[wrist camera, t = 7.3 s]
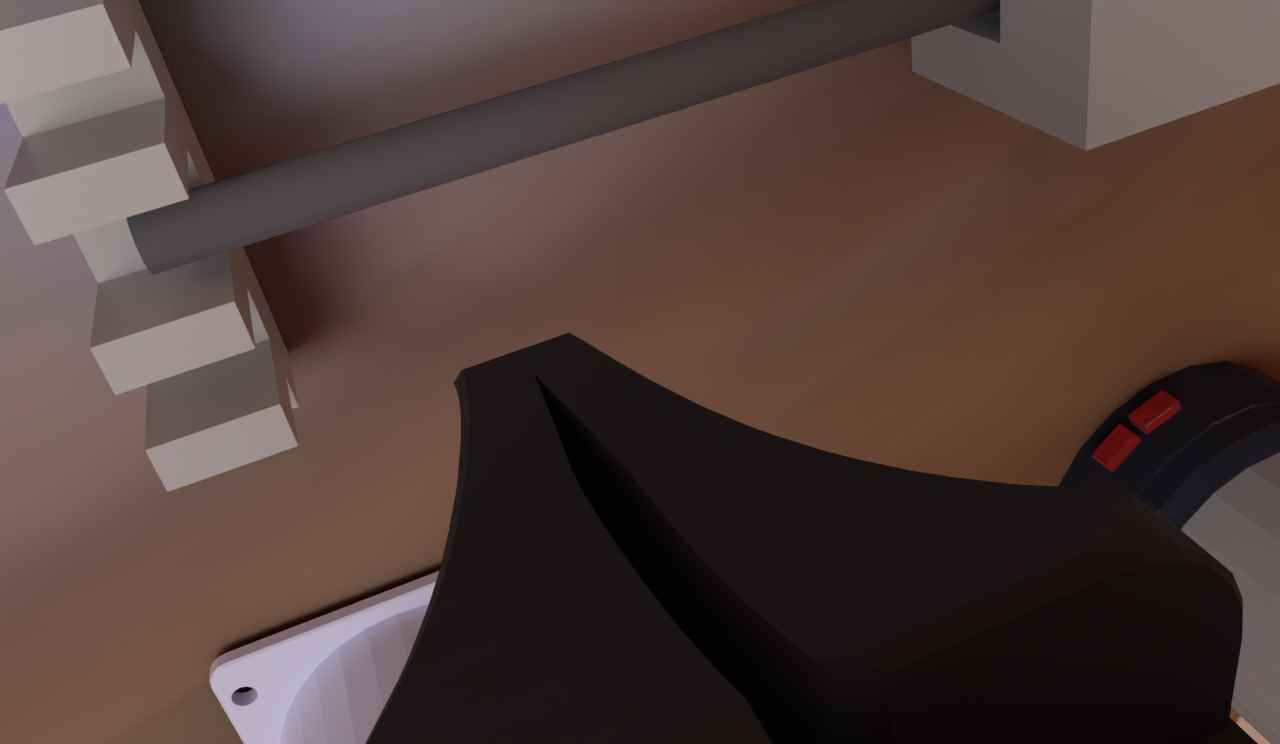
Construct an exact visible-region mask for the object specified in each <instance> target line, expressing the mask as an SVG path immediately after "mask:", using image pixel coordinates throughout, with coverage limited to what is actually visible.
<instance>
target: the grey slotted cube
mask: <svg viewBox="0 0 1280 744" xmlns="http://www.w3.org/2000/svg"><path fill="white" fill-rule="evenodd" d="M911 49H912V70H913V72H914V73H916V74H919V75H921V76H923V77H925V78H927V79H930V80H932V81H934V82H936V83H938V84H941V85H943V86H945V87H947V88H949V89H951V90H954V91H956V92H958V93H960V94H962V95H965V96H967V97H969V98H971V99H973V100H976V101H978V102H980V103H982V104H984V105H986V106H989V107H991V108H993V109H995V110H997V111H1000V112H1002V113H1004V114H1006V115H1008V116H1011V117H1013V118H1015V119H1017V120H1019V121H1021V122H1024V123H1026V124H1028V125H1030V126H1032V127H1035V128H1037V129H1039V130H1041V131H1043V132H1045V133H1048V134H1050V135H1052V136H1054V137H1056V138H1059V139H1061V140H1063V141H1065V142H1067V143H1070V144H1072V145H1074V146H1076V147H1078V148H1080V149H1083V150H1085V151H1087V150H1090V149H1093V148H1096V147H1099V146H1102V145H1105V144H1107V143H1110V142H1113V141H1116V140H1119V139H1122V138H1125V137H1127V136H1130V135H1133V134H1136V133H1139V132H1142V131H1145V130H1148V129H1150V128H1153V127H1156V126H1159V125H1162V124H1165V123H1168V122H1170V121H1173V120H1176V119H1179V118H1182V117H1185V116H1188V115H1191V114H1193V113H1196V112H1199V111H1202V110H1205V109H1208V108H1211V107H1213V106H1216V105H1219V104H1222V103H1225V102H1228V101H1231V100H1234V99H1236V98H1239V97H1242V96H1245V95H1248V94H1251V93H1254V92H1256V91H1259V90H1262V89H1265V88H1268V87H1271V86H1274V85H1277V84H1279V83H1280V0H1000V9H999V10H996V11H993V12H990V13H987V14H983V15H980V16H977V17H974V18H971V19H967V20H964V21H961V22H958V23H955V24H952V25H948V26H945V27H942V28H939V29H936V30H932V31H929V32H926V33H923V34H920V35H916V36H913V37H911Z"/></svg>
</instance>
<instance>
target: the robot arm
mask: <svg viewBox="0 0 1280 744" xmlns="http://www.w3.org/2000/svg"><path fill="white" fill-rule="evenodd" d="M454 384H455V387H456V390H457V393H458V396H459V402H460V411H461V446H460V458H459V470H458V481H457V489H456V495H455V500H454V506H453V511H452V517H451V522H450V528H449V533H448V538H447V543H446V547H445V551H444V555H443V559H442V562H441V566H440V570H439V571H437V572H435V573H432V574H430V575H427V576H424V577H422V578H419V579H417V580H414V581H411V582H409V583H406V584H404V585H401V586H398V587H396V588H393V589H391V590H388V591H385V592H383V593H380V594H378V595H375V596H372V597H370V598H367V599H365V600H362V601H359V602H357V603H354V604H352V605H349V606H346V607H344V608H341V609H339V610H336V611H333V612H331V613H328V614H326V615H323V616H320V617H318V618H315V619H313V620H310V621H307V622H305V623H302V624H300V625H297V626H294V627H292V628H289V629H287V630H284V631H281V632H279V633H276V634H274V635H271V636H268V637H266V638H263V639H261V640H258V641H255V642H253V643H250V644H248V645H245V646H242V647H240V648H237V649H235V650H232V651H229V652H227V653H225V654H223V655H221V656H219V657H218V658H217V659H216V660H215V661H214V662H213V663H212V664H211V668H210V671H209V673H210V684H211V688H212V690H213V691H214V693H215V695H216V697H217V698H218V700H219V702H220V703H221V705H222V707H223V709H224V710H225V712H226V714H227V715H228V717H229V719H230V720H231V722H232V724H233V726H234V727H235V729H236V731H237V732H238V734H239V736H240V738H241V739H242V741H243V743H244V744H1258V743H1256V742H1255V741H1254V740H1253V739H1252V738H1251V737H1250V736H1249V735H1248V734H1247V733H1246V732H1245V731H1244V730H1242V729H1241V728H1240V727H1239V726H1238V725H1237V724H1236V723H1235V722H1234V721H1233V720H1232V719H1231V718H1230V717H1229V716H1230V710H1231V704H1232V698H1233V692H1234V686H1235V680H1236V674H1237V668H1238V662H1239V656H1240V650H1241V644H1242V631H1243V598H1242V595H1241V593H1240V590H1239V588H1238V585H1237V583H1236V580H1235V578H1234V575H1233V573H1232V572H1231V571H1229V570H1228V569H1227V568H1226V567H1225V566H1223V565H1222V564H1221V563H1220V562H1219V561H1218V560H1216V559H1215V558H1214V557H1213V556H1212V555H1210V554H1209V553H1208V552H1207V551H1206V550H1204V549H1203V548H1202V547H1201V546H1200V545H1198V544H1197V543H1196V542H1195V541H1194V540H1192V539H1191V538H1190V537H1189V536H1187V535H1186V534H1185V533H1184V532H1183V531H1181V530H1180V529H1179V528H1178V527H1177V526H1175V525H1174V524H1173V523H1172V522H1171V521H1169V520H1168V519H1166V518H1165V517H1164V516H1162V515H1161V514H1159V513H1158V512H1157V511H1155V510H1154V509H1153V508H1151V507H1150V506H1148V505H1147V504H1146V503H1144V502H1143V501H1141V500H1140V499H1138V498H1137V497H1135V496H1134V495H1132V494H1131V493H1129V492H1128V491H1127V490H1122V489H1100V488H1078V487H1055V486H1033V485H1016V484H1005V483H997V482H989V481H980V480H972V479H963V478H955V477H947V476H941V475H935V474H929V473H922V472H916V471H910V470H905V469H900V468H896V467H891V466H886V465H882V464H877V463H872V462H868V461H863V460H858V459H853V458H850V457H846V456H842V455H838V454H834V453H830V452H826V451H823V450H819V449H816V448H813V447H810V446H807V445H803V444H800V443H797V442H794V441H791V440H788V439H784V438H781V437H778V436H775V435H772V434H769V433H766V432H764V431H761V430H758V429H755V428H753V427H750V426H747V425H745V424H742V423H740V422H738V421H735V420H733V419H731V418H728V417H726V416H723V415H721V414H719V413H716V412H714V411H712V410H709V409H707V408H705V407H703V406H700V405H698V404H696V403H694V402H692V401H690V400H688V399H686V398H684V397H682V396H680V395H678V394H677V393H675V392H673V391H671V390H669V389H667V388H665V387H663V386H661V385H659V384H657V383H655V382H653V381H652V380H650V379H648V378H646V377H644V376H642V375H641V374H639V373H637V372H635V371H634V370H632V369H630V368H628V367H627V366H625V365H623V364H621V363H620V362H618V361H616V360H615V359H613V358H611V357H610V356H608V355H606V354H605V353H603V352H601V351H600V350H598V349H596V348H595V347H593V346H591V345H590V344H588V343H586V342H585V341H583V340H581V339H579V338H578V337H576V336H574V335H572V334H570V333H567V334H564V335H561V336H558V337H555V338H552V339H550V340H547V341H544V342H541V343H538V344H535V345H532V346H529V347H527V348H524V349H521V350H518V351H515V352H512V353H509V354H506V355H504V356H501V357H498V358H495V359H492V360H489V361H486V362H483V363H481V364H478V365H475V366H472V367H469V368H466V369H463V370H461V372H460V374H459V375H458V377H457V379H456V380H455V382H454ZM242 687H252V688H253V689H251V690H250V691H248V692H243V693H239V692H235V691H236V690H237V689H239V688H242Z"/></svg>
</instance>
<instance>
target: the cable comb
mask: <svg viewBox="0 0 1280 744" xmlns="http://www.w3.org/2000/svg"><path fill="white" fill-rule="evenodd" d="M2 103H6V105H7V107H8V109H9V111H10V113H11V115H12V117H13V119H14V121H15V123H16V125H17V127H18V129H19V131H20V132H21V134H22V136H23V139H22V142H21V145H20V148H19V150H18V153H17V156H16V158H15V161H14V164H13V167H12V169H11V172H10V175H9V178H8V180H7V183H6V186H5V188H4V190H5V192H6V194H7V196H8V197H9V199H10V201H11V203H12V205H13V207H14V209H15V210H16V212H17V214H18V216H19V218H20V220H21V222H22V223H23V225H24V227H25V229H26V231H27V233H28V234H29V236H30V238H31V240H32V242H33V244H34V245H38V244H41V243H44V242H48V241H51V240H54V239H57V238H61V237H64V236H67V235H71V234H73V235H74V237H75V239H76V241H77V243H78V245H79V247H80V249H81V251H82V253H83V255H84V257H85V259H86V260H87V262H88V264H89V266H90V268H91V270H92V272H93V274H94V276H95V278H96V280H97V282H98V290H97V298H96V305H95V313H94V320H93V328H92V335H91V343H90V349H91V351H92V353H93V355H94V357H95V359H96V360H97V362H98V364H99V366H100V368H101V370H102V371H103V373H104V375H105V377H106V379H107V381H108V383H109V384H110V386H111V388H112V390H113V392H114V394H115V395H117V394H120V393H123V392H126V391H129V390H132V389H135V388H138V387H141V386H144V385H147V384H148V385H147V412H146V439H145V451H146V453H147V455H148V457H149V458H150V460H151V462H152V464H153V466H154V468H155V470H156V471H157V473H158V475H159V477H160V479H161V481H162V483H163V484H164V486H165V488H166V490H167V492H169V491H171V490H174V489H177V488H180V487H183V486H186V485H189V484H191V483H194V482H197V481H200V480H203V479H206V478H208V477H211V476H214V475H217V474H220V473H223V472H225V471H228V470H231V469H234V468H237V467H240V466H242V465H245V464H248V463H251V462H254V461H257V460H259V459H262V458H265V457H268V456H271V455H274V454H276V453H279V452H282V451H285V450H288V449H291V448H294V447H296V446H298V441H297V435H296V429H295V424H294V418H293V413H292V409H293V408H296V407H299V406H298V400H297V395H296V390H295V385H294V379H293V374H292V369H291V363H290V358H289V353H288V351H287V349H286V346H285V344H284V342H283V339H282V337H281V335H280V332H279V330H278V328H277V325H276V323H275V320H274V318H273V316H272V313H271V311H270V309H269V306H268V304H267V302H266V299H265V297H264V295H263V292H262V290H261V287H260V285H259V283H258V280H257V278H256V276H255V273H254V271H253V269H252V266H251V264H250V262H249V259H248V257H247V255H246V252H245V250H244V247H240V248H237V249H234V250H231V251H228V252H224V253H221V254H218V255H215V256H212V257H208V258H205V259H202V260H199V261H196V262H193V263H189V264H186V265H183V266H180V267H177V268H173V269H170V270H167V271H164V272H161V273H157V274H154V275H153V274H152V273H151V272H150V271H149V270H148V269H147V267H146V265H145V264H144V262H143V260H142V258H141V256H140V254H139V252H138V250H137V248H136V245H135V243H134V240H133V238H132V235H131V232H130V229H129V226H128V222H127V217H130V216H134V215H137V214H140V213H144V212H147V211H150V210H153V209H157V208H160V207H163V206H167V205H170V204H173V203H177V202H180V201H183V200H187V199H189V189H192V188H196V187H199V186H202V185H206V184H209V183H212V182H216V181H215V179H214V177H213V174H212V172H211V170H210V167H209V165H208V163H207V160H206V158H205V156H204V153H203V151H202V149H201V146H200V144H199V141H198V139H197V137H196V134H195V132H194V130H193V127H192V125H191V123H190V120H189V118H188V116H187V113H186V111H185V108H184V106H183V104H182V101H181V99H180V97H179V94H178V92H177V90H176V87H175V85H174V83H173V80H172V78H171V76H170V73H169V71H168V68H167V66H166V64H165V61H164V59H163V57H162V54H161V52H160V50H159V47H158V45H157V43H156V40H155V38H154V35H153V33H152V31H151V28H150V26H149V24H148V21H147V19H146V17H145V14H144V12H143V10H142V7H141V5H140V2H139V0H0V104H2Z"/></svg>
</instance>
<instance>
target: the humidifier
mask: <svg viewBox="0 0 1280 744" xmlns="http://www.w3.org/2000/svg"><path fill="white" fill-rule="evenodd" d="M1059 487H1078V488H1100V489H1122V490H1127V491H1128V492H1129V493H1131V494H1132V495H1134V496H1135V497H1137V498H1138V499H1140V500H1141V501H1143V502H1144V503H1146V504H1147V505H1148V506H1150V507H1151V508H1153V509H1154V510H1155V511H1157V512H1158V513H1159V514H1161V515H1162V516H1164V517H1165V518H1166V519H1168V520H1169V521H1171V522H1172V523H1173V524H1174V525H1175V526H1177V527H1178V528H1179V529H1180V530H1181V531H1183V532H1184V533H1185V534H1186V535H1187V536H1189V537H1190V538H1191V539H1192V540H1194V541H1195V542H1196V543H1197V544H1198V545H1200V546H1201V547H1202V548H1203V549H1204V550H1206V551H1207V552H1208V553H1209V554H1210V555H1212V556H1213V557H1214V558H1215V559H1216V560H1218V561H1219V562H1220V563H1221V564H1222V565H1223V566H1225V567H1226V568H1227V569H1228V570H1229V571H1231V572H1232V573H1233V575H1234V578H1235V580H1236V583H1237V585H1238V588H1239V590H1240V593H1241V595H1242V598H1243V631H1242V644H1241V650H1240V656H1239V662H1238V668H1237V674H1236V680H1235V686H1234V692H1233V698H1232V704H1231V707H1232V708H1233V709H1234V710H1235V711H1236V712H1237V713H1238V714H1239V715H1241V716H1242V717H1243V718H1244V719H1245V720H1246V721H1247V722H1248V723H1249V724H1250V725H1251V726H1252V727H1254V728H1255V729H1256V730H1257V731H1258V732H1259V733H1260V734H1261V735H1262V736H1263V737H1264V738H1266V739H1267V740H1268V741H1269V742H1270V743H1271V744H1280V383H1279V382H1277V381H1275V380H1273V379H1272V378H1270V377H1268V376H1267V375H1265V374H1263V373H1262V372H1260V371H1258V370H1256V369H1254V368H1250V367H1247V366H1243V365H1239V364H1235V363H1232V362H1228V361H1224V362H1216V363H1209V364H1202V365H1195V366H1190V367H1187V368H1185V369H1183V370H1181V371H1179V372H1176V373H1174V374H1172V375H1170V376H1168V377H1165V378H1163V379H1161V380H1159V381H1157V382H1154V383H1152V384H1150V385H1149V386H1148V387H1146V388H1145V389H1144V390H1142V391H1141V392H1140V393H1138V394H1137V395H1136V396H1134V397H1133V398H1132V399H1130V400H1129V401H1128V402H1126V403H1125V404H1124V405H1122V406H1121V407H1120V408H1118V409H1117V410H1116V411H1115V412H1113V413H1112V414H1111V415H1110V416H1109V418H1108V419H1107V420H1106V421H1105V422H1104V423H1103V424H1102V425H1101V427H1100V428H1099V429H1098V430H1097V431H1096V432H1095V433H1094V434H1093V436H1092V437H1091V438H1090V439H1089V440H1088V441H1087V442H1086V443H1085V444H1084V446H1083V447H1082V448H1081V449H1080V451H1079V452H1078V454H1077V456H1076V457H1075V459H1074V461H1073V463H1072V464H1071V466H1070V468H1069V470H1068V471H1067V473H1066V475H1065V476H1064V478H1063V480H1062V482H1061V483H1060V485H1059Z"/></svg>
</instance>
